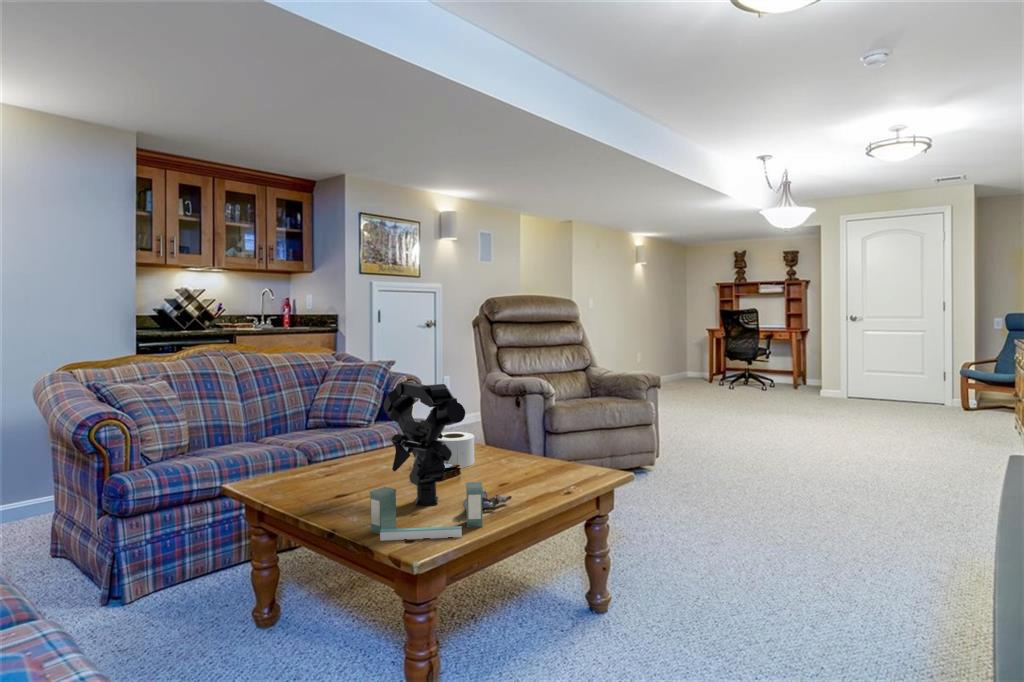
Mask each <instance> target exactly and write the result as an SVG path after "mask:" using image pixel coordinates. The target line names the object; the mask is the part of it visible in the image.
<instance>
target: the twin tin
mask: <svg viewBox="0 0 1024 682" xmlns="http://www.w3.org/2000/svg"><path fill="white" fill-rule="evenodd" d="M465 487H466V491H465V492H466V493H465V495H466V499H467V510H466V528H467V529H469V528H470V529H471V528H473V527H474V528H483V510H482V491H484V490H483V482H482V481H474V482H465Z"/></svg>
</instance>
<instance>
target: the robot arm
mask: <svg viewBox="0 0 1024 682" xmlns="http://www.w3.org/2000/svg"><path fill="white" fill-rule="evenodd" d="M415 399H419V402H420V403H422V404H423V405H425V406H427V407H428V408H432V409H431V410H430V411H429V414H428V416H427V417H426V419H425V420H423V419H422V420H420V421H416V420H415V418H414V416H413V414H412V413H413V408H414V403H415V401H416V400H415ZM383 410H384V412H385V413H386V415H387V416H388V418H389V419H390V420H392V421H394V422H396V423H397V424H398V426H399V428H400V430H401V432H402V434H401V433H396V434H394V435H393V436H392V437H391V439H390V442H391V443H392V445H393V446H394V448H395V453H394V454H395V455H394V459H393V462H392V463H393V464H392V467H391V470H392V472H396V471H397V470H399V469H400V468H401V467H402V466H403V464H404V463H405V462H406V461H407V460H408V458H410V457H411V453H412V455H413V456H414V457H413V458H414V460H413V463H412V467H413V468H412V470H411V471H410V473H409V475H408V476H409V482H410V484H413V485H415V486H416V498H415V502H414V505H415V506H434V505H438V502H439V501H438V500H439V496H437V482H443V481H444V475H445V470H446V469H445V465H444V461H449V459H450V457H451V456H452V452H451V450H450V449H449V448H448V446H447V445H446V444H445V443H444V442H442V441H437V440H438V438H439V439H442V437H443V435H442V434H441V433H443V432H444V429H445V427H446V426H451V425H455V424H459V423H461V422H462V421H463V420H465V417H466V409H465V408H464V406H463V405H462V403H459V402H458V399H457V397H456V398H455V397H454V396H453V394H452V392H451V391H450V390H449V388H448V386H447V384H445V383H439V384H437V383H436V384H427V385H426V384H422V383H415V382H413V381H401V382H399V383H397V384H396V386H395V388H393V389H392V390H391V391H389V393H388V394H387V395H386V397H385V400H384V401H383Z"/></svg>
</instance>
